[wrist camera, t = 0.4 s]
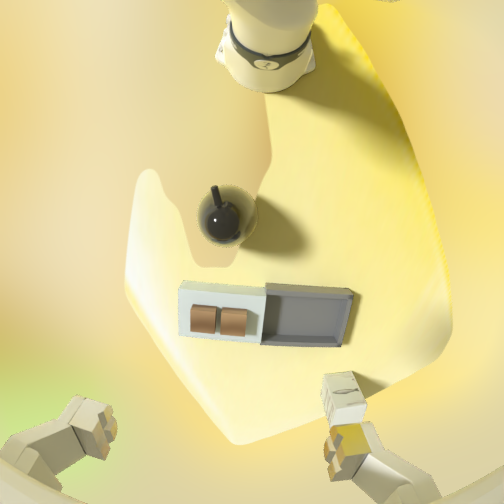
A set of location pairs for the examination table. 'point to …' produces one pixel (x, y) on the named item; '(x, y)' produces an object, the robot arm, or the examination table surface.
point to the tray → (305, 315)
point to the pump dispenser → (227, 215)
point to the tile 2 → (233, 321)
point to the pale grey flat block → (221, 297)
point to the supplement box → (342, 399)
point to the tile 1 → (203, 318)
